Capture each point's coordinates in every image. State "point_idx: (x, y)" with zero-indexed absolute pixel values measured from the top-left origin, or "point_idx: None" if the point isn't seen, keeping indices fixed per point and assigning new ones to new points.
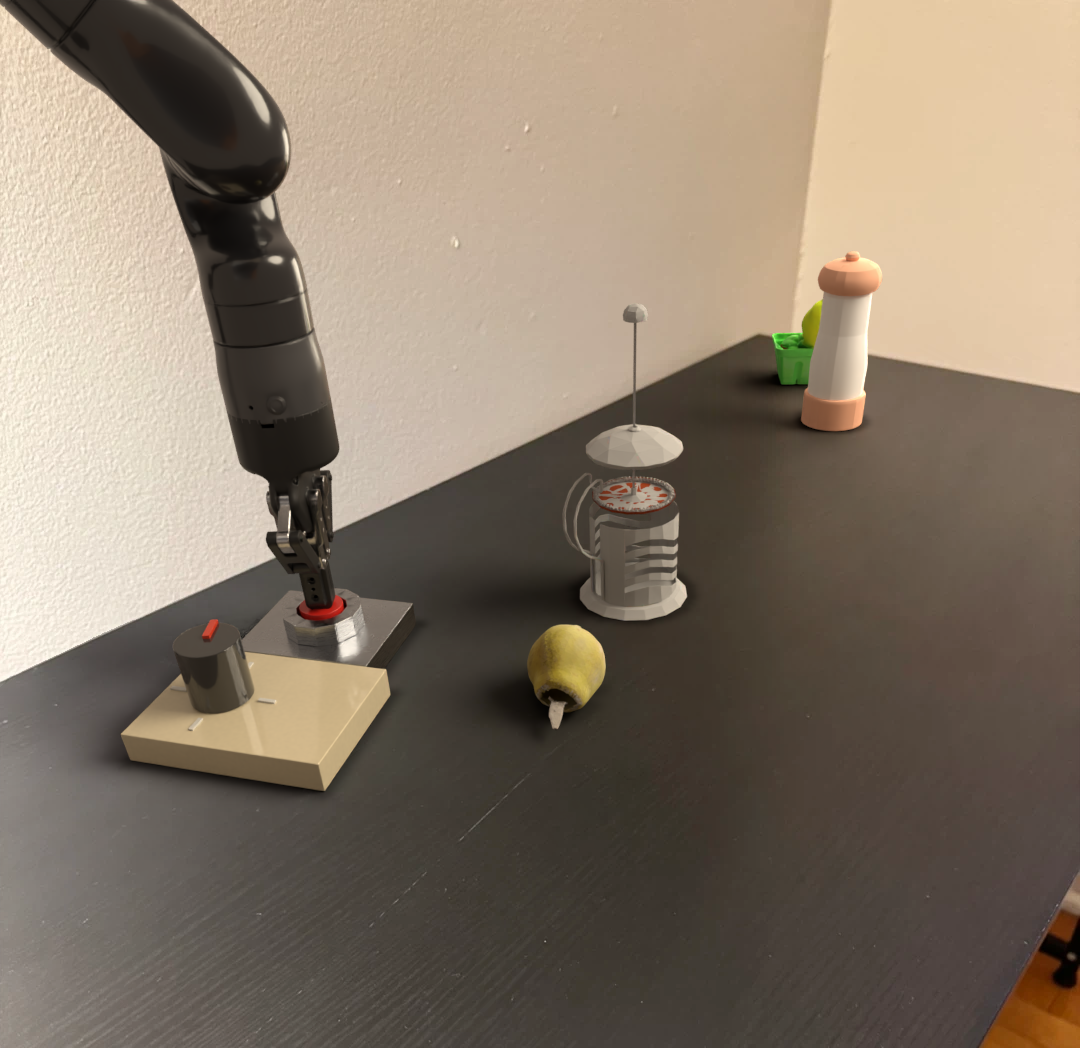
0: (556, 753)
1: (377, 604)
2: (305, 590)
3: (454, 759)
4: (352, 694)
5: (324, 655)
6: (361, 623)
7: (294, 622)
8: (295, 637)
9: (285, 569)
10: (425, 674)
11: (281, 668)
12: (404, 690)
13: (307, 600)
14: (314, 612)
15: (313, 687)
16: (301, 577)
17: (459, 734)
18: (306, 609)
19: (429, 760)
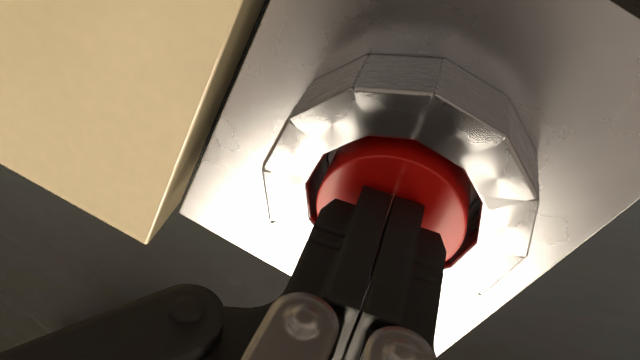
0: (41, 329)
1: (466, 302)
2: (306, 243)
3: (13, 234)
4: (53, 169)
5: (234, 140)
6: None
7: (310, 121)
8: (309, 89)
9: (122, 307)
10: (243, 267)
11: (159, 24)
12: (194, 225)
13: (321, 213)
14: (336, 192)
15: (73, 96)
16: (332, 273)
17: (70, 257)
18: (368, 174)
19: (5, 205)
